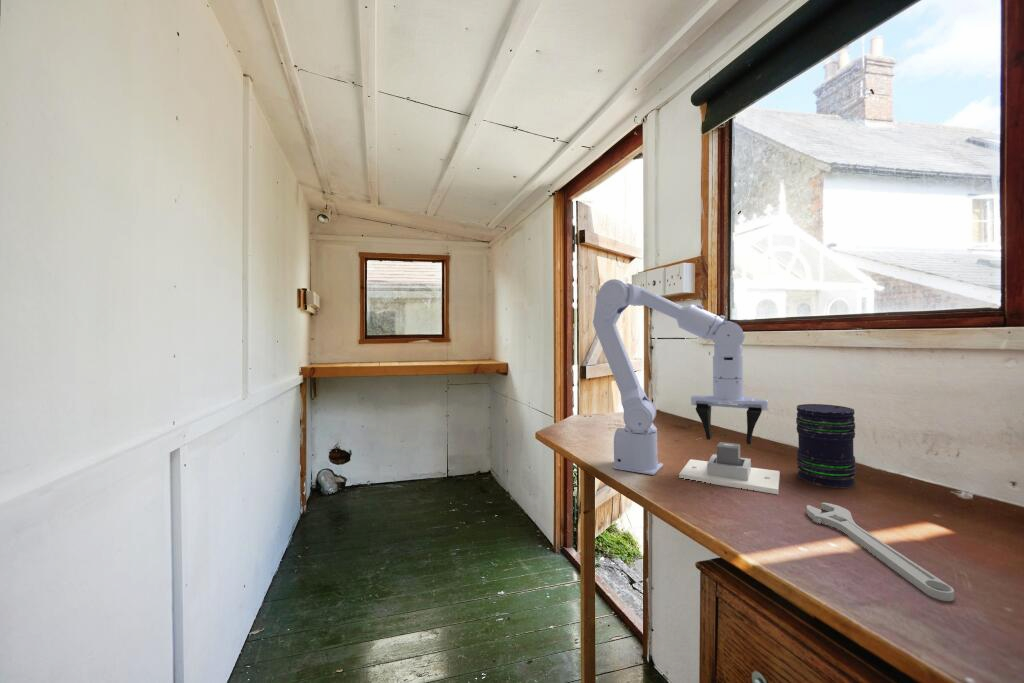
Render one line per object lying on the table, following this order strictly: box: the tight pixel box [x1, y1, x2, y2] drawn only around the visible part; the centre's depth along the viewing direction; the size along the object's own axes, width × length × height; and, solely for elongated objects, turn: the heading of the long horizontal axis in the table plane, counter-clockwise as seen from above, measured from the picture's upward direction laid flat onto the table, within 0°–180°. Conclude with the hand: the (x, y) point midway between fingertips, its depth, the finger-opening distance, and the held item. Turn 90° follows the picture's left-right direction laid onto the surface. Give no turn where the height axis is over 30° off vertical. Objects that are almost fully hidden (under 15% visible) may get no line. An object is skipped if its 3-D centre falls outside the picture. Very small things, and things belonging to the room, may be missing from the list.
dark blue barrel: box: [795, 403, 857, 489], centre depth 88 cm, size 10×10×15 cm
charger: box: [716, 441, 741, 466], centre depth 90 cm, size 4×4×6 cm
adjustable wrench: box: [806, 502, 955, 602], centre depth 61 cm, size 25×6×2 cm, turn 169°
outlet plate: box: [678, 453, 781, 495], centre depth 90 cm, size 18×12×4 cm, turn 56°
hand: (728, 440), depth 90 cm, fingers open, 7 cm apart
